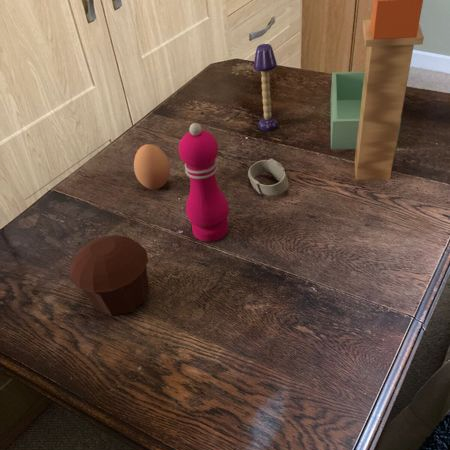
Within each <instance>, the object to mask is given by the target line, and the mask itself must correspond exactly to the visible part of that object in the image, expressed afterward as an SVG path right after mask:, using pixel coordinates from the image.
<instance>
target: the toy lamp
mask: <svg viewBox="0 0 450 450" xmlns="http://www.w3.org/2000/svg"><path fill="white" fill-rule="evenodd" d="M253 60H254V61H253V70H255V71H257V72H260V74H261V79H260V81H261V90H262V91H261V97H262V104H263V106H262V110H263V117H262V118H260V120H259V121H258V126H257V128H258V129H259V130H261V131H263V132H269V131H272V130H275V129H276V128H278V121H277V119H276V118H274V117H273V116H272V105H271V104H272V99H271V90H270V89H271V84H270V81H271V80H270V79H271V78H270V71H273V70H274V69H276V67H277V66H278V65H277V63H278V62H277V60H276V56H275V52H274V48H273V46H272V45H271V44H270V43H262V44H258V46H256V49H255V55H254V59H253Z"/></svg>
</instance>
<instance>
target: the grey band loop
mask: <svg viewBox="0 0 450 450" xmlns="http://www.w3.org/2000/svg"><path fill="white" fill-rule="evenodd" d="M263 173H269V174H271V175H272V176H273V177H274V178H275V179H276V181H278V182H277V183H274V184H269V185H268V184H262V183H260V181H259V180H257V179H255V178H256V177H257V176H259V175H261V174H263ZM247 176H248V179H249V181H250V183H251V186H252V187H253V189H254V190H255V191H256V192H257V193H258V194H259V195H262V194H263V195H266V196H277V195H281V194H283V193H284V192H287V190H288V189H289V187H290V184H289V179H288V176H287V172H286V170H285V168H284V167H283V165H282V164H281V163H280V162H278V161H277V160H275V159H274V158H272V157H271V158H269V159H262V160H259V161H256V162H254V163H253V164H252V165H250V167H249V168H248V170H247Z"/></svg>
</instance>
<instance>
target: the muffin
mask: <svg viewBox="0 0 450 450" xmlns="http://www.w3.org/2000/svg"><path fill="white" fill-rule="evenodd" d="M148 263H149V257H148V251H147V248H145V247H143V246H142V245H141V244H140V243H139V242H138V241H136V240H134V238H132V237H129V236H124V235H119V234H112V235H103V236H101V237H98V238H95V239H93V240H91V241H89V242H88V243H87V244H85V245H84V246H82V247H81V248H79V250H78V252H77V253H76V255H75V256H74V258H73V260H72V261H71V264H70V267H69V275H70V276H69V277H70V279H69V280H70V281H71V282H72V283H73V284H74V285H75V286H76V287H77V288H78V289H79V290H82V291H83V293H84V294H85V295H86V297H87V299H89V301H90V302H91V304H92V306H94V308H95V309H96V310H97V311H98V312H101V313H104V312H105V314H107V315H109V316H111V317H112V316H113V315H114V316H117V315H116V314H118V315H121V313H122V314H129V313H128V312H130V313H132V312H133V311H134V310H135V309H136V308H137V307H139V306H141V305H143V302H144V303H145V300H146V296H147V293H148V292H149V279H148V270H147V265H148ZM140 304H141V305H140ZM134 308H135V309H134ZM133 309H134V310H133ZM132 310H133V311H132Z"/></svg>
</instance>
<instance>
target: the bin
mask: <svg viewBox="0 0 450 450" xmlns="http://www.w3.org/2000/svg"><path fill="white" fill-rule="evenodd" d="M364 73H365V70H363V71H360V70H359V71H333V72H332V73H331V87H330V88H331V89H330V150H356V144H357V135H358V127H359V118H360V109H361V100H362V91H363V82H364ZM401 123H402V119H401V120H400V126H399V131H398V137H397V142H396V148H395V150H396V149H397V146H398V141H399V135H400V129H401Z"/></svg>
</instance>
